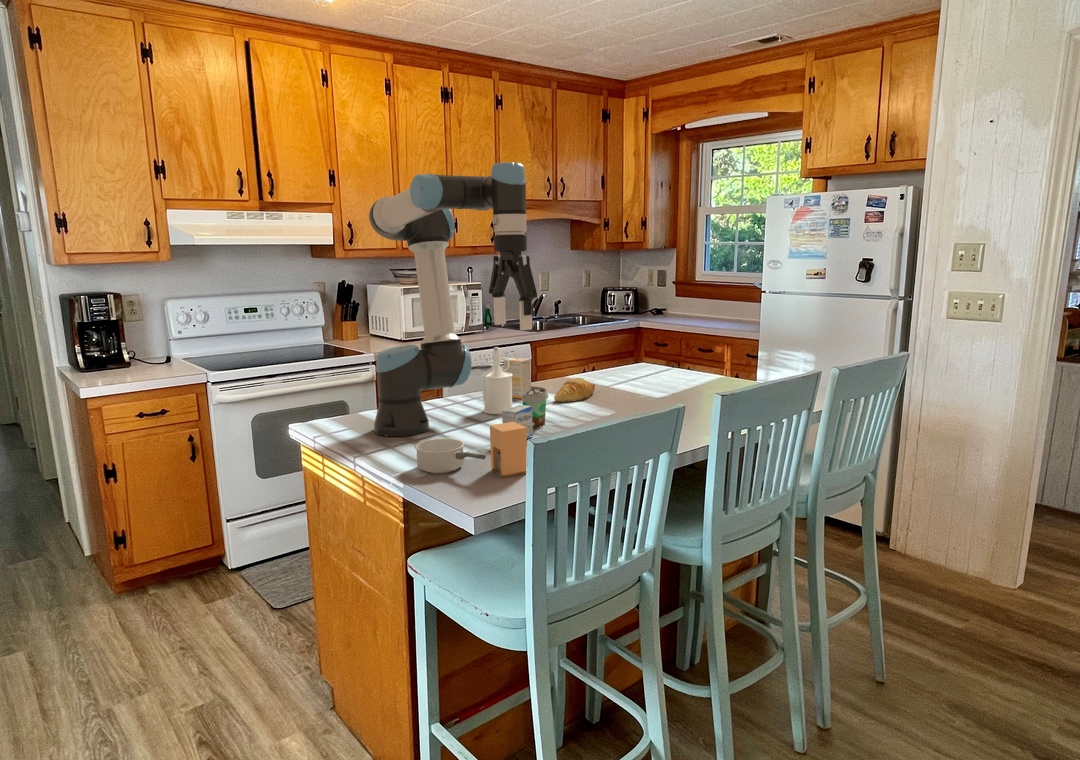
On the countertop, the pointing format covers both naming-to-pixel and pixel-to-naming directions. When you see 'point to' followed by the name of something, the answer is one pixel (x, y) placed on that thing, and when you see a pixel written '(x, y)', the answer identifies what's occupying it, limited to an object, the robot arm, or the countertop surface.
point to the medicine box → (520, 417)
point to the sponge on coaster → (498, 470)
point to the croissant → (574, 390)
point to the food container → (536, 404)
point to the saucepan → (442, 455)
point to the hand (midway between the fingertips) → (512, 327)
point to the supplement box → (519, 375)
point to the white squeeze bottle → (497, 387)
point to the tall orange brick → (509, 447)
